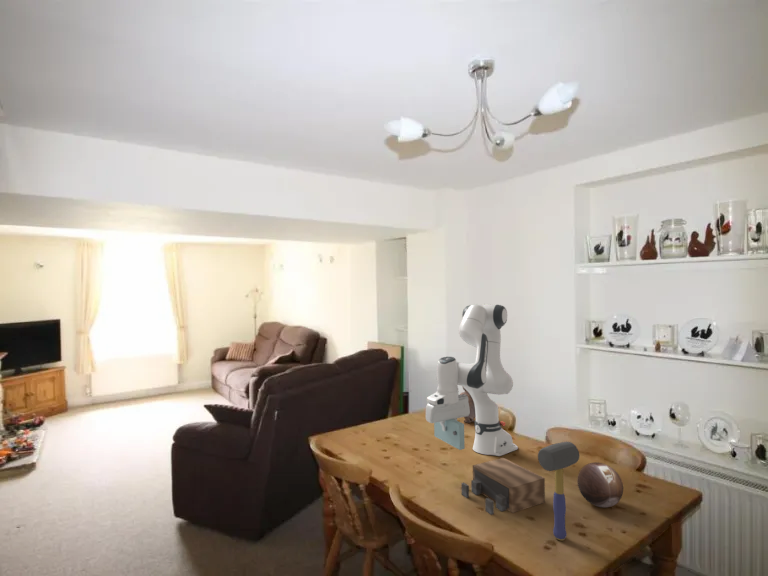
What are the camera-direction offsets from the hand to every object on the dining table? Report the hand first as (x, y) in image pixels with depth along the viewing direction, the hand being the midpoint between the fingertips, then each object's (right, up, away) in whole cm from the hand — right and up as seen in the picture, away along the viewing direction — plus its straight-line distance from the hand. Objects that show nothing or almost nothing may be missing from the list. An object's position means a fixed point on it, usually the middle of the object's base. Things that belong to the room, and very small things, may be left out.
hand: (448, 429), depth 181 cm
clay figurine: (+24, -21, +78) cm, 84 cm away
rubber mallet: (+29, -21, -43) cm, 56 cm away
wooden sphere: (+52, -21, -22) cm, 60 cm away
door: (0, -5, 0) cm, 5 cm away
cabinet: (+18, -21, -15) cm, 31 cm away
